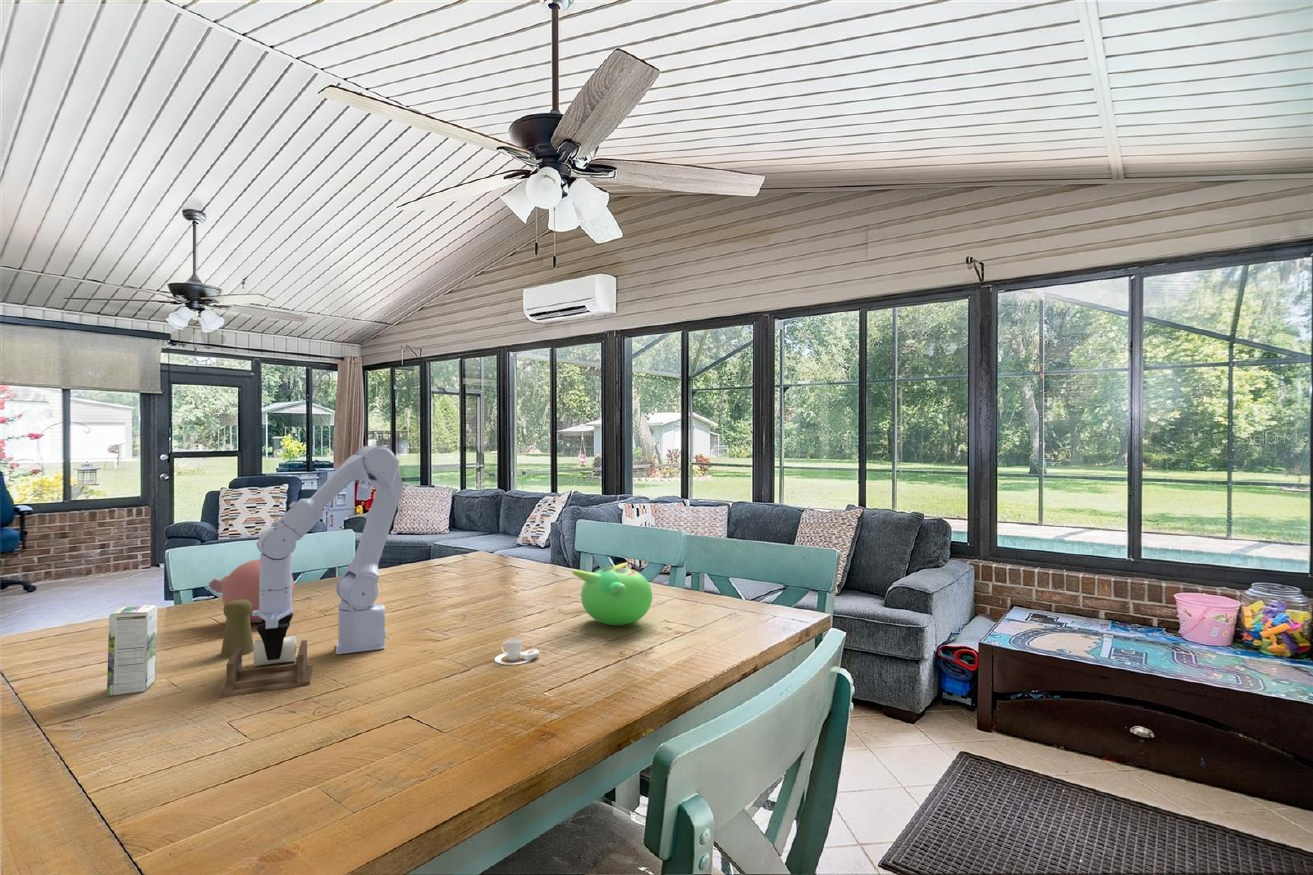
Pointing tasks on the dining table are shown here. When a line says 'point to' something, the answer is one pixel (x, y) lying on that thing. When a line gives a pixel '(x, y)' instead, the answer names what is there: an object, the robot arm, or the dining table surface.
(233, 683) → the holder
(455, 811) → the dining table surface
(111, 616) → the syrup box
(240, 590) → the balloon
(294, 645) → the roll
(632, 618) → the toy bird
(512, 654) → the teacup and saucer
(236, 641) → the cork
